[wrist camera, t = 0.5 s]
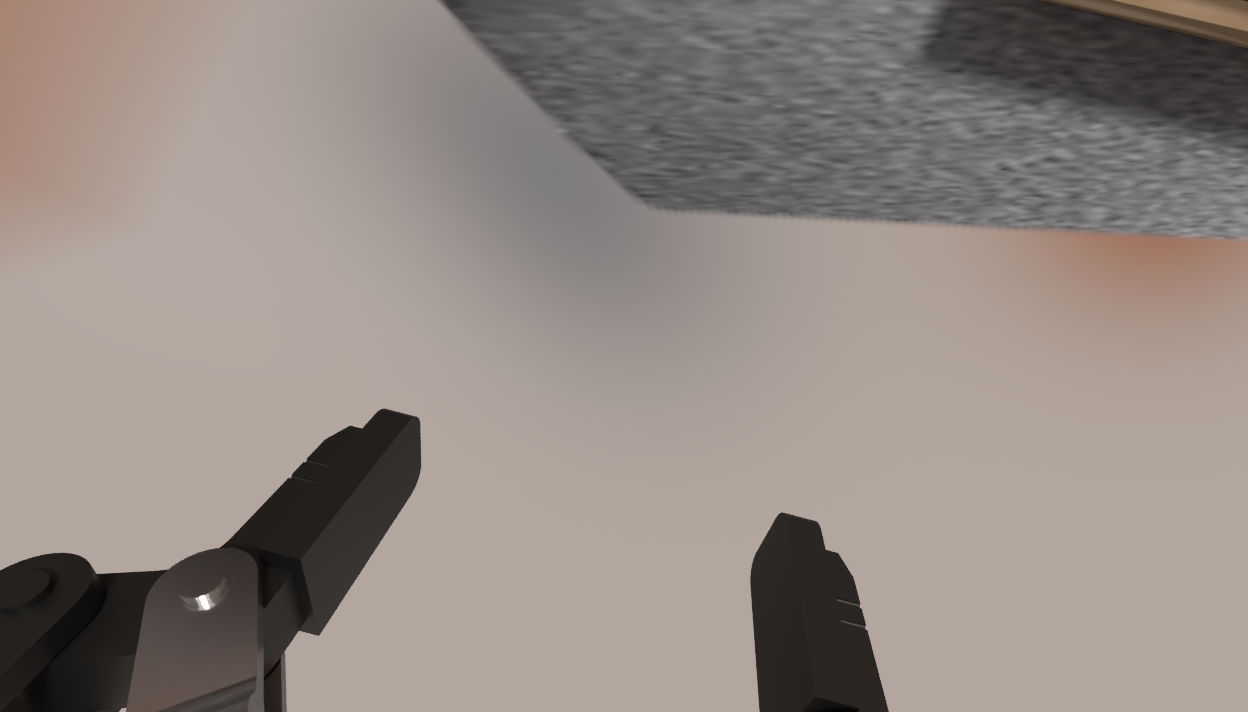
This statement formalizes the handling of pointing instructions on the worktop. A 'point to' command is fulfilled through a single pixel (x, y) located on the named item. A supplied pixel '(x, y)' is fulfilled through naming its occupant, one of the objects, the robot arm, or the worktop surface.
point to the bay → (1177, 16)
